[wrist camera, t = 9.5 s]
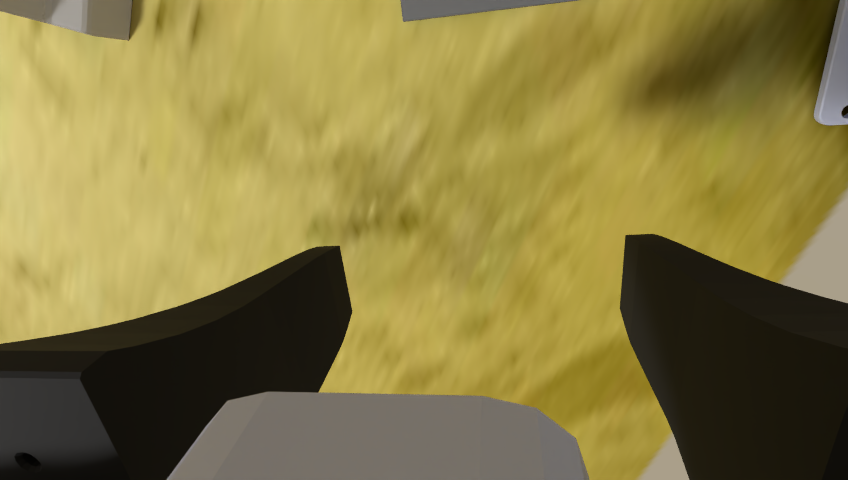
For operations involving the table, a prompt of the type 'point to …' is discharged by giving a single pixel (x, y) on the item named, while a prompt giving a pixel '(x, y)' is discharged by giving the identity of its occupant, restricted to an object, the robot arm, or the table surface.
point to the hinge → (77, 15)
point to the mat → (461, 7)
